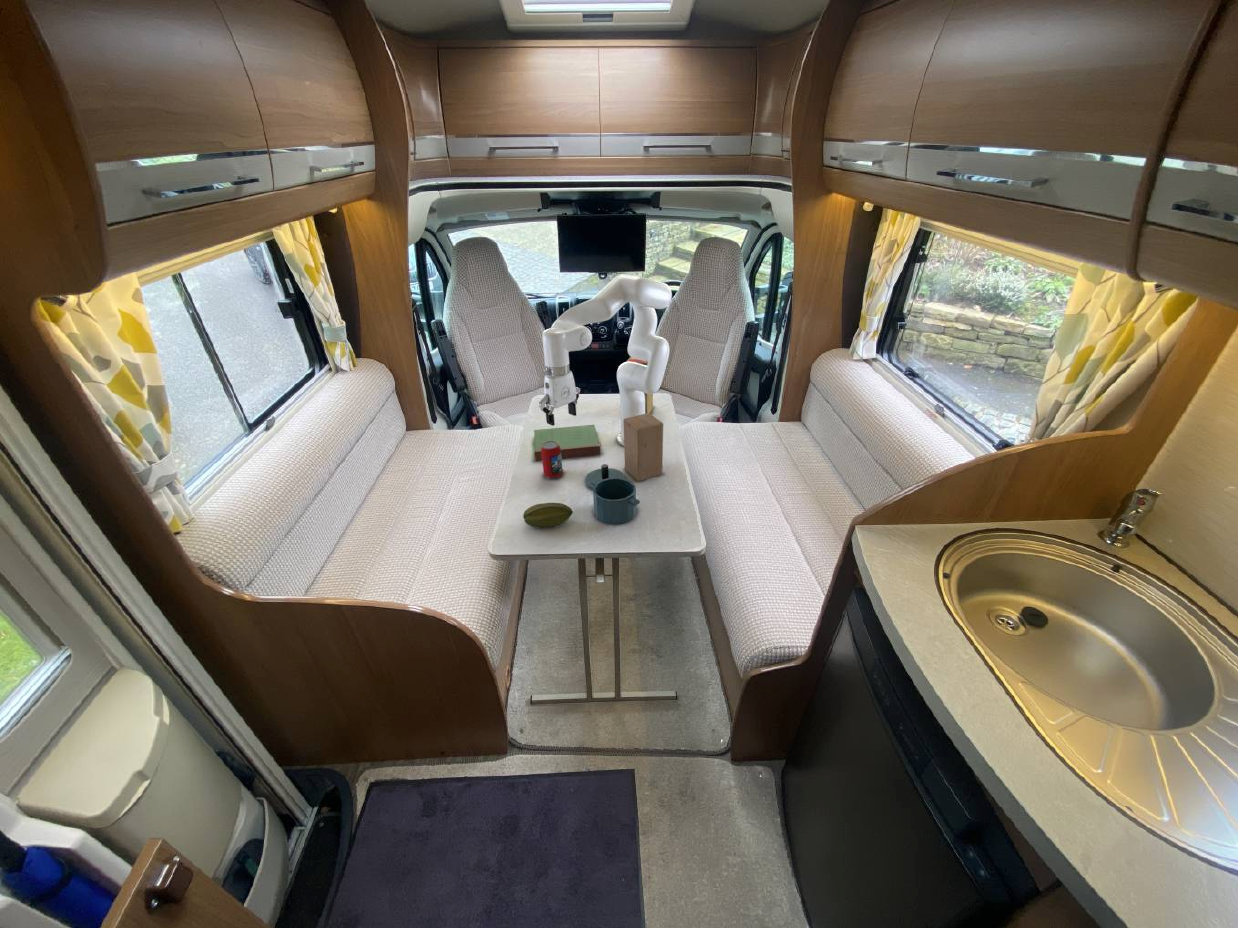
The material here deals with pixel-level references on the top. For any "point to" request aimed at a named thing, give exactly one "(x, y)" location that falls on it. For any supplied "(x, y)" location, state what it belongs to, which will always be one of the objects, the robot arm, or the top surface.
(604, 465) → the pot lid
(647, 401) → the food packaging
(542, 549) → the top surface
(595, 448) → the book
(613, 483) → the pot
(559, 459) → the beverage can
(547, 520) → the fruit
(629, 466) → the wooden block
